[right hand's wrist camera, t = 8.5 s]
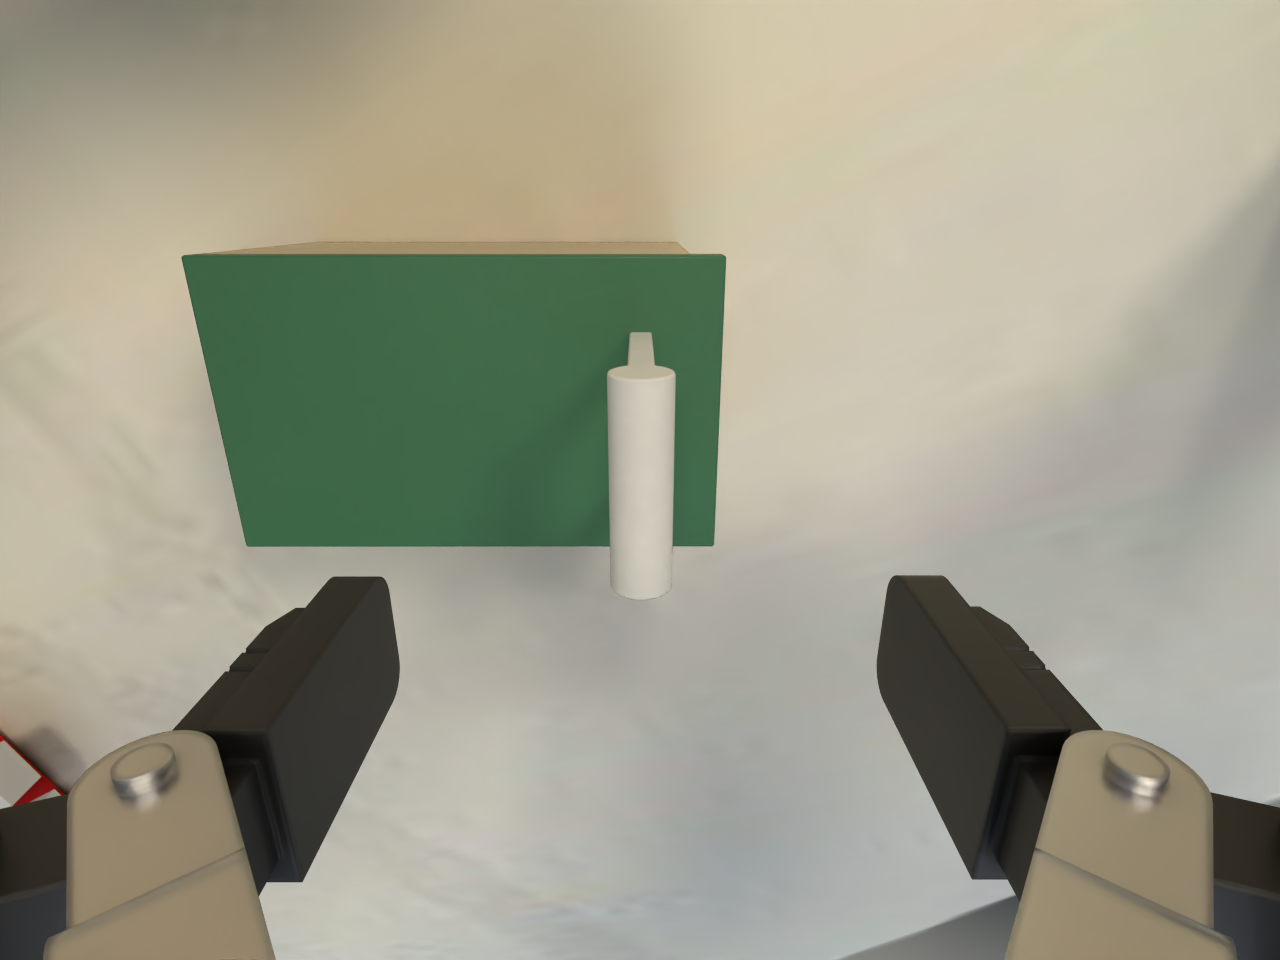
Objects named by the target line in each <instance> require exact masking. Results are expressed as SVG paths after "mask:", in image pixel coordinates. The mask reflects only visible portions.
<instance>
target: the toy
mask: <svg viewBox="0 0 1280 960" xmlns="http://www.w3.org/2000/svg"><path fill="white" fill-rule="evenodd" d="M61 795H65V794H64V793H63V792H62V791H61V790H60V789H59V788H58V787H56V786H55V785H54V784H53V783H52V782H51V781H50V780H49V779H48V778H47V777H46V776H45V775H43V774H42V773H41V772H40V771H39V770H38V769H37V768H36V767H35V766H34V765H33V764H32V763H30V762H29V761H28V760H27V759H26V758H25V757H24V756H23V755H22V754H21V753H20V752H19V751H18V750H16V749H15V748H14V747H13V746H12V745H11V744H10V743H9V742H8V741H7V740H6V739H5V738H3V737H2V736H1V735H0V809H2V808H7V807H11V806H16V805H20V804H25V803H29V802H34V801H38V800H43V799H47V798H52V797H56V796H61Z"/></svg>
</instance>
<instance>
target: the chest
mask: <svg viewBox="0 0 1280 960" xmlns="http://www.w3.org/2000/svg"><path fill="white" fill-rule="evenodd" d="M203 254H690V253H689V252H688V251H687V250H686V249H685V248H683V247H682V246H681V245H680V244H679V243H677V242H313V243H304V244H293V245H283V246H273V247H263V248H253V249H243V250H233V251H223V252H213V253H203Z"/></svg>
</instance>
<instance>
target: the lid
mask: <svg viewBox="0 0 1280 960" xmlns="http://www.w3.org/2000/svg"><path fill="white" fill-rule="evenodd" d="M182 262H183V267H184V271H185V275H186V280H187V284H188V289H189V293H190V298H191V302H192V306H193V311H194V315H195V320H196V324H197V329H198V333H199V337H200V342H201V346H202V351H203V355H204V360H205V364H206V368H207V373H208V377H209V382H210V386H211V390H212V395H213V399H214V404H215V408H216V413H217V417H218V421H219V426H220V430H221V435H222V439H223V444H224V448H225V452H226V457H227V461H228V466H229V470H230V475H231V479H232V483H233V488H234V492H235V497H236V501H237V506H238V510H239V514H240V519H241V523H242V528H243V532H244V537H245V541H246V545H247V546H610V578H611V587H612V589H613V591H614V592H615V593H617V594H618V595H620V596H622V597H624V598H628V599H633V600H650V599H655V598H658V597H661V596H663V595H664V594H666V593H667V592H668V591H669V590H670V588H671V585H672V546H713V545H714V530H715V507H716V483H717V459H718V436H719V412H720V389H721V365H722V342H723V318H724V294H725V271H726V257H725V256H724V255H722V254H193V255H184V256H182Z"/></svg>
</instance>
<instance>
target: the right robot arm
mask: <svg viewBox="0 0 1280 960" xmlns="http://www.w3.org/2000/svg"><path fill="white" fill-rule="evenodd" d="M399 673H400V663H399V654H398V647H397V641H396V634H395V627H394V620H393V614H392V607H391V600H390V593H389V588H388V585H387V583H386V581H385V579H384V578H383V577H332V578H330V579H329V580H328V582H327V583H326V584H325V585H324V586H323V587H322V589H321V590H320V591H319V592H318V593H317V595H316V596H315V597H314V598H313V599H312V601H311V602H310V603H309V604H308V605H307V606H306V608H295V609H293V610H292V611H290V612H289V613H287V614H285V615H284V616H282V617H280V618H279V619H277V620H276V621H274V622H272V623H271V624H269V625H267V626H266V627H265V628H264V629H263V630H262V631H261V632H260V634H259V635H258V636H257V637H256V638H255V639H254V640H253V641H252V642H251V644H250V645H249V646H248V647H247V648H246V653H242V654H241V655H240V656H239V657H238V658H237V659H236V660H235V661H234V662H233V664H232V665H231V666H230V670H229V672H224V674H223V675H222V676H221V677H220V678H219V679H218V680H217V681H216V682H215V684H214V685H213V686H212V687H211V688H210V689H209V690H208V691H207V692H206V694H205V695H204V696H203V697H202V698H201V699H200V700H199V701H198V703H197V704H196V705H195V706H194V707H193V708H192V709H191V710H190V711H189V713H188V714H187V715H186V716H185V717H184V718H183V719H182V720H181V721H180V723H179V724H178V725H177V726H176V727H175V728H174V729H173V730H172V731H168V732H162V733H158V734H154V735H150V736H147V737H144V738H141V739H138V740H136V741H133V742H131V743H129V744H126V745H124V746H122V747H120V748H118V749H116V750H115V751H113V752H111V753H110V754H108V755H106V756H105V757H103V758H102V759H100V760H99V761H98V762H96V763H95V764H94V765H92V766H91V767H90V768H89V769H88V770H87V771H85V772H84V774H83V775H82V776H81V777H80V778H79V779H78V780H77V782H76V783H75V784H74V786H73V787H72V789H71V791H70V793H69V794H65V795H61V796H56V797H52V798H47V799H43V800H38V801H34V802H29V803H25V804H20V805H16V806H11V807H7V808H2V809H0V960H276V959H275V955H274V951H273V948H272V944H271V940H270V937H269V933H268V929H267V926H266V922H265V918H264V915H263V911H262V907H261V904H260V900H259V895H260V893H261V891H262V890H263V888H264V886H265V884H266V882H303V880H304V878H305V876H306V874H307V872H308V870H309V868H310V866H311V864H312V862H313V860H314V858H315V856H316V854H317V852H318V850H319V848H320V846H321V844H322V842H323V840H324V838H325V836H326V834H327V832H328V830H329V828H330V826H331V824H332V822H333V820H334V818H335V816H336V814H337V812H338V810H339V808H340V806H341V804H342V802H343V800H344V798H345V796H346V794H347V792H348V790H349V788H350V786H351V784H352V782H353V780H354V778H355V776H356V774H357V772H358V770H359V768H360V766H361V764H362V762H363V760H364V758H365V756H366V755H367V753H368V751H369V749H370V747H371V745H372V743H373V741H374V739H375V737H376V735H377V733H378V731H379V729H380V727H381V725H382V723H383V721H384V719H385V717H386V715H387V713H388V711H389V709H390V707H391V705H392V703H393V701H394V698H395V695H396V692H397V688H398V682H399ZM877 678H878V685H879V689H880V693H881V696H882V698H883V701H884V703H885V705H886V707H887V709H888V711H889V713H890V715H891V717H892V719H893V721H894V723H895V725H896V727H897V729H898V731H899V733H900V735H901V737H902V739H903V741H904V743H905V745H906V747H907V749H908V751H909V753H910V755H911V757H912V759H913V761H914V763H915V765H916V767H917V769H918V771H919V773H920V775H921V777H922V779H923V781H924V783H925V785H926V787H927V789H928V791H929V793H930V795H931V797H932V799H933V801H934V803H935V806H936V808H937V810H938V812H939V814H940V816H941V818H942V820H943V822H944V824H945V826H946V828H947V830H948V832H949V834H950V836H951V838H952V840H953V842H954V844H955V846H956V848H957V850H958V852H959V854H960V856H961V858H962V860H963V862H964V864H965V866H966V868H967V870H968V872H969V874H970V876H971V878H972V879H1008V881H1009V883H1010V885H1011V887H1012V888H1013V890H1014V892H1015V894H1016V896H1017V897H1018V899H1019V901H1020V904H1019V907H1018V911H1017V915H1016V918H1015V922H1014V926H1013V929H1012V933H1011V937H1010V940H1009V944H1008V948H1007V951H1006V955H1005V959H1004V960H1280V808H1278V807H1274V806H1270V805H1265V804H1260V803H1256V802H1251V801H1247V800H1242V799H1238V798H1233V797H1229V796H1224V795H1220V794H1215V793H1211V792H1210V791H1209V789H1208V787H1207V786H1206V784H1205V783H1204V782H1203V780H1202V779H1201V778H1200V777H1199V776H1198V775H1197V774H1196V772H1195V771H1193V770H1192V769H1191V768H1190V767H1189V766H1188V765H1186V764H1185V763H1184V762H1182V761H1181V760H1180V759H1178V758H1177V757H1175V756H1174V755H1172V754H1170V753H1169V752H1167V751H1165V750H1164V749H1162V748H1160V747H1158V746H1156V745H1154V744H1151V743H1149V742H1147V741H1144V740H1142V739H1139V738H1136V737H1133V736H1130V735H1126V734H1122V733H1118V732H1112V731H1105V730H1103V729H1102V728H1101V727H1100V726H1099V725H1098V724H1097V723H1096V722H1095V720H1094V719H1093V718H1092V717H1091V716H1090V715H1089V714H1088V713H1087V711H1086V710H1085V709H1084V708H1083V707H1082V706H1081V705H1080V704H1079V702H1078V701H1077V700H1076V699H1075V698H1074V697H1073V696H1072V695H1071V694H1070V692H1069V691H1068V690H1067V689H1066V688H1065V687H1064V686H1063V685H1062V683H1061V682H1060V681H1059V680H1058V679H1057V678H1056V677H1055V676H1054V674H1053V673H1052V672H1051V671H1050V670H1046V669H1045V664H1044V663H1043V662H1042V661H1041V660H1040V659H1039V658H1038V656H1037V655H1036V654H1035V653H1034V652H1033V651H1029V646H1028V645H1027V644H1026V643H1025V642H1024V641H1023V640H1022V638H1021V637H1020V636H1019V635H1018V634H1017V633H1016V632H1015V631H1014V630H1013V628H1012V627H1011V626H1010V625H1009V624H1007V623H1005V622H1004V621H1002V620H1001V619H999V618H997V617H996V616H994V615H992V614H991V613H989V612H988V611H986V610H984V609H983V608H981V607H970V606H969V605H968V603H967V602H966V601H965V600H964V599H963V597H962V596H961V595H960V594H959V593H958V591H957V590H956V589H955V588H954V587H953V585H952V584H951V583H950V582H949V581H948V579H947V578H946V577H944V576H893V577H892V578H891V580H890V582H889V584H888V588H887V594H886V601H885V607H884V614H883V621H882V628H881V635H880V642H879V649H878V655H877Z"/></svg>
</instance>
